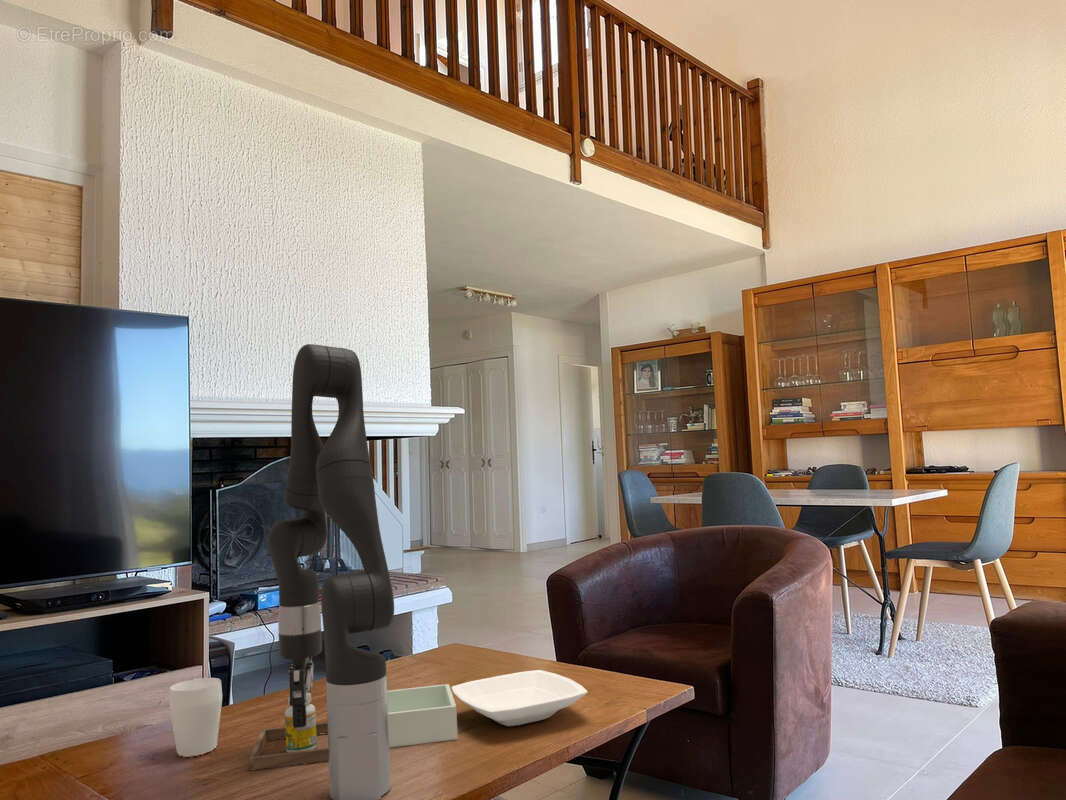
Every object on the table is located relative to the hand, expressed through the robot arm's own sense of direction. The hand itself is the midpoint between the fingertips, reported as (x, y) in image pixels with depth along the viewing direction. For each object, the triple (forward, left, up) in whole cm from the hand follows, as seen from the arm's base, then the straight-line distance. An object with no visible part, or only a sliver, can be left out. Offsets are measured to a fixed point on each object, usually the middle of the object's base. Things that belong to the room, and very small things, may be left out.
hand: (302, 718), depth 143 cm
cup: (+5, +19, -5) cm, 21 cm away
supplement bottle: (-1, 0, -5) cm, 5 cm away
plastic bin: (+2, -20, -5) cm, 21 cm away
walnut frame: (-1, 0, -5) cm, 5 cm away
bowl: (+2, -40, -5) cm, 41 cm away
